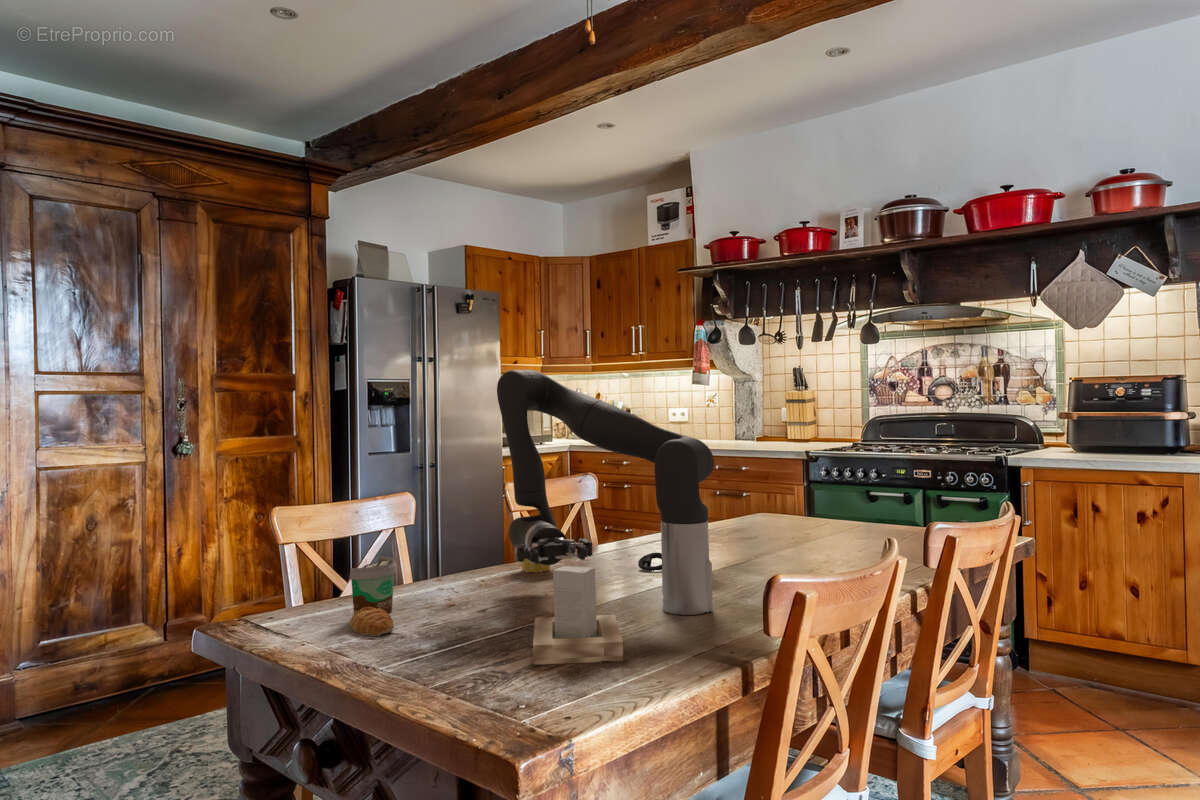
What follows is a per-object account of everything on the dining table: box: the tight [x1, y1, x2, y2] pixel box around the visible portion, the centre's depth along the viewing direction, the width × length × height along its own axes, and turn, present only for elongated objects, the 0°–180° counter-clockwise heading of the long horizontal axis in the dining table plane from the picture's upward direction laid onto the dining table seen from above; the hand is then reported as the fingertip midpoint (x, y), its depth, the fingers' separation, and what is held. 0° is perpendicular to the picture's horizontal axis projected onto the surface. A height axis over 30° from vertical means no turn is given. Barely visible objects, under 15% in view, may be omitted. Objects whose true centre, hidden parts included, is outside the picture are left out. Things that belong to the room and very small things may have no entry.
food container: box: [349, 556, 398, 615], centre depth 154 cm, size 12×6×10 cm, turn 168°
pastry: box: [349, 607, 395, 637], centre depth 142 cm, size 9×7×4 cm
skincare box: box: [552, 565, 597, 639], centre depth 130 cm, size 6×4×12 cm
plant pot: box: [520, 559, 551, 573], centre depth 192 cm, size 10×10×10 cm
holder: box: [532, 614, 624, 666], centre depth 129 cm, size 14×16×3 cm
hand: (560, 556), depth 141 cm, fingers open, 8 cm apart
